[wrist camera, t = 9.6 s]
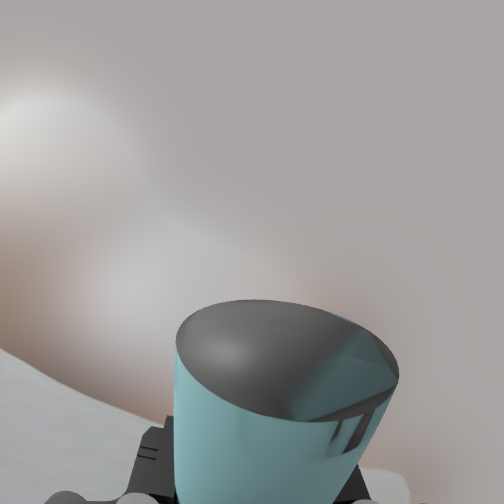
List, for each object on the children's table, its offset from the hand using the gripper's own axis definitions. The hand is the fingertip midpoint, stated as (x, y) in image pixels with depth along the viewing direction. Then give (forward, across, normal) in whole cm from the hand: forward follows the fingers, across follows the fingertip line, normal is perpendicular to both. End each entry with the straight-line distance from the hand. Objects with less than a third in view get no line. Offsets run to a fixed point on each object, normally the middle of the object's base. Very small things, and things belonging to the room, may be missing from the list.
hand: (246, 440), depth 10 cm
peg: (-3, 0, +8) cm, 8 cm away
